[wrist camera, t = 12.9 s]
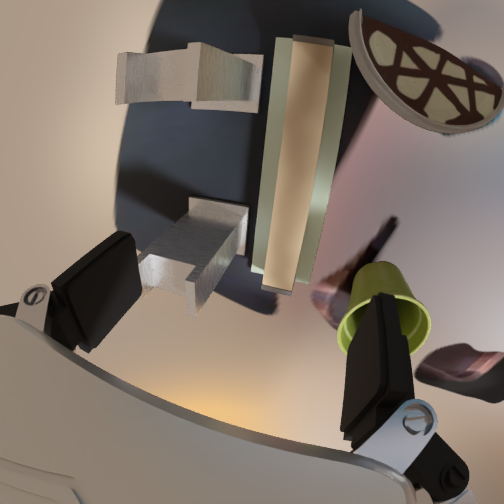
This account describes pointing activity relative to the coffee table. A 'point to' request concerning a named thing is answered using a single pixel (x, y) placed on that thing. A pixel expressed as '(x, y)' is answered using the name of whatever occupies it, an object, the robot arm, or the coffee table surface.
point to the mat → (325, 160)
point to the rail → (297, 159)
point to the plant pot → (390, 282)
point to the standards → (200, 209)
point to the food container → (422, 79)
